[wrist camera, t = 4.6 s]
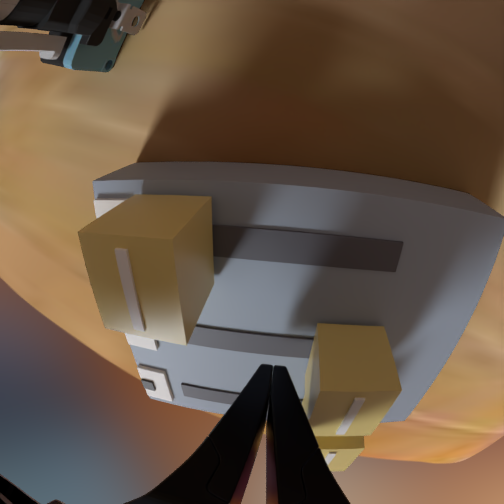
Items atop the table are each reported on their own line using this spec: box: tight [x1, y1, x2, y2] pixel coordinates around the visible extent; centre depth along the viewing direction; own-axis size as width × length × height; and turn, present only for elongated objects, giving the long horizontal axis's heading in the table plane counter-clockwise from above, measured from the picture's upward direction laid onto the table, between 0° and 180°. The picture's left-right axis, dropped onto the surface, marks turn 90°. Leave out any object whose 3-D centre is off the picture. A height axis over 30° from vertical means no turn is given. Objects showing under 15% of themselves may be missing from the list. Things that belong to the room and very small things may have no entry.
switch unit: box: [93, 162, 504, 423], centre depth 11 cm, size 14×12×3 cm
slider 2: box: [304, 323, 402, 436], centre depth 8 cm, size 2×3×3 cm
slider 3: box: [302, 395, 365, 471], centre depth 10 cm, size 2×3×3 cm
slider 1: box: [78, 194, 214, 346], centre depth 7 cm, size 2×3×3 cm
